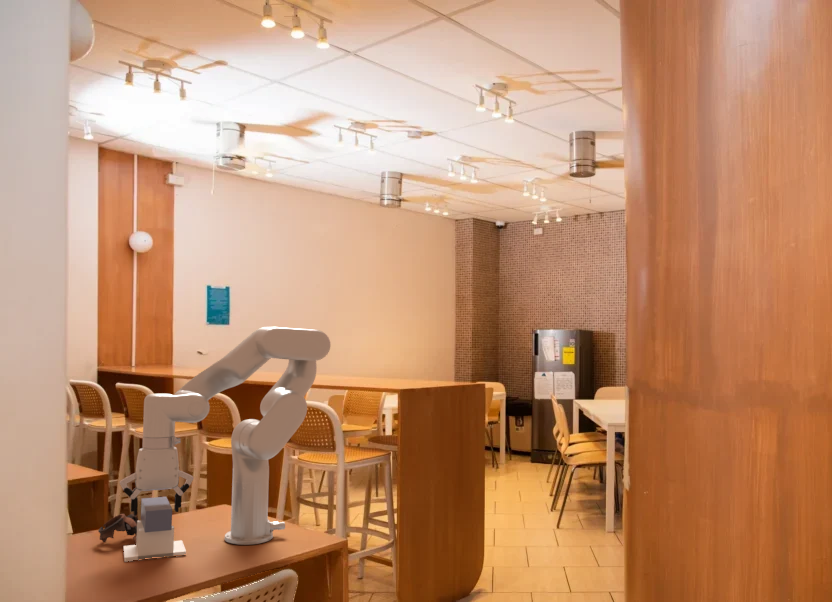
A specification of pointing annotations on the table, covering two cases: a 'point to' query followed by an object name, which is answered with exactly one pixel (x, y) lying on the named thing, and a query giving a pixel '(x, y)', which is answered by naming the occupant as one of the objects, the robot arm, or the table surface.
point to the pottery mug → (119, 526)
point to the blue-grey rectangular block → (156, 514)
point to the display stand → (153, 545)
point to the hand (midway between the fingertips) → (156, 512)
